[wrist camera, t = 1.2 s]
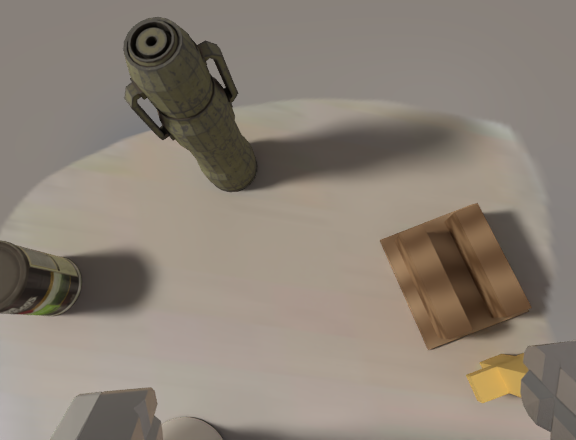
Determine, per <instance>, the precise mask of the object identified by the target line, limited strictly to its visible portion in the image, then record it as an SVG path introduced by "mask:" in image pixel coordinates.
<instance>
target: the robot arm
mask: <svg viewBox="0 0 576 440" xmlns="http://www.w3.org/2000/svg"><path fill="white" fill-rule="evenodd" d="M523 363H524V365H525V366H526V367H527V369H528V370H529V371H528V372H527V373H526V374H525V375H524V377H523V378H522V379H521V389H520V394H521V398H522V401H523V405H524V407H525V409H526V411H527V413H528V415H529V416H530V418H531V419H532V420H533V421H534V422H535V424H536V425H538V426H540V427H542V428H544V429H546V430H547V431H549V432H551V438H550V440H576V340H572V341H568V342H559V343H551V344H542V345H534V346H528V347H527V348H526V350H525V352H524V358H523ZM156 407H157V399H156V395H155V391H154V390H153V389H152V388H151V387H149V388H138V389H126V390H115V391H104V392H95V393H85V394H79V395H78V396H76V397H75V398H74V399H73V400H72V402H71V404H70V406H69V407H68V409H67V411H66V413H65V414H64V416H63V418H62V419H61V421H60V423H59V425H58V426H57V428H56V430H55V431H54V433H53V435H52V437H51V438H50V440H223V439H222V437H221V436H220V434H219V433H218V432H217V431H216V430H215V429H214V428H213V427H212V426H210V425H209V424H207V423H206V422H204V421H202V420H199V419H196V418H191V417H180V418H175V419H172V420H169V421H167V422H165V423H163V424H162V425H161V421H160V420H159V419H158V418H157V417H155V416H154V414H155V411H156Z"/></svg>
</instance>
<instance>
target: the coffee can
mask: <svg viewBox="0 0 576 440" xmlns="http://www.w3.org/2000/svg"><path fill="white" fill-rule="evenodd" d="M81 283H82V281H81V274H80V271H79V269H78V268H77V266H76V265H75V264H74V263H73V262H72V261H71V260H69V259H67V258H64V257H58V256H55V255H51V254H47V253H43V252H40V251H36V250H32V249H28V248H25V247H21V246H17V245H14V244H12V243H9V242H6V241H0V314H23V315H43V316H55V315H59V314H61V313H63V312H65V311H66V310H68V309H69V308H70V307H71V306H72V305H73V304H74V303H75V301H76V300H77V298H78V296H79V293H80V290H81Z"/></svg>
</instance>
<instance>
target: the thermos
mask: <svg viewBox="0 0 576 440" xmlns="http://www.w3.org/2000/svg"><path fill="white" fill-rule="evenodd" d="M124 55H125V59H126V63H127V67H128V70H129V73H130V76H131V78H130V80H131V81H132V83H130V84H129V85H128V86H126V91H125V97H124V98H125V100H126V101H127V103H128V104H129V105H130V107H131V108H132V109H133V110H134V111H135V112H136V114H137V115H138V116H139V117H140V118H141V119H142V120H143V121H144V122H145V123H146V124H147V125H148V126H149V128H150V129H151V130H152V131H153V132H154V133H155V134H156V135H157V136H158V137H159V138H161V139H162V140H164V139H166V138H167V137H168V136H170V138H171V139H172V140H175V139H176V141H177V142H178V143H179V144H180V145H181V146H183V147H184V148H186V149H187V150H189V151H190V152H191V153H192V154H193V156H194V157H195V158H196V159H197V161H198V164H199V166H200V168H201V170H202V172H203V173H204V174H205V175H206V177H207V178H208V179H209V180H210V181H211V182H212V183H213V184H214V185H215V186H216V187H218V188H219V189H221V190H223V191H227V192H237V191H240V190H242V189H245V188H246V187H247V186H248V185H250V184H251V182H252V181H253V180H254V178H255V176H256V172H257V162H256V159H255V156H254V153H253V150H252V148H251V146H250V144H249V142H248V141H247V140H246V139H245V138H244V137H243V136H242V135H241V133H240V131H239V129H238V127H237V125H236V123H235V115H234V112H233V109H232V107H233V106H232V102H233V101H234V99H235V98H236V96H237V94H238V91H237V89H236V87H235V85H234V82H233V80H232V78H231V75H230V72H229V70H228V68H227V65H226V63H225V60H224V58H223V55H222V52H221V50H220V48H219V47H218V46H217V44H214V43H211V42H208V41H204V42H202V43H200V44H198V45H196V43H195V42H194V41H193V40H192V39H191V38H190V36H189V34H188V33H186V32H185V31H184V30H183V29H182V28H180V27H179V26H178V25H176V24H175V23H174V22H172V21H170V20H169V19H166V18H161V17H154V18H148V19H146V20H143V21H141V22H139V23H138V24H136V25H135V26H134V27H133V28H132V29H131V30H130V31H129V33H128V34H127V36H126V39H125V41H124ZM209 58H211V59H213V60H214V62H215V64H216V66H217V69H218V71H219V73H220V75H221V77H222V80H223V82H224V84H225V86H226V88H223V87H222V86H221V84H220V83H219V82H218V81H217V80H216V79H215V78H214V77H212V76H211V74H210V73H209V70H208V68H207V63H206V61H207V60H208V59H209ZM140 97H142V98H143V99H146V98H148V99H149V100H150V101H151V103H152V104H153V105H154V106H155V107H156V109H157V112H158V115H159V118H160V121H161V123H162V126H161V127H160V128H159V127H158V126H157V125H156V124H155V123H154V121H153V120H152V119H151V118H150V117H149V116H148V115H147V114H146V112H145V111H144V110H143V109H142V108H141V107H140V106H139V104H138V103H137V99H139V98H140Z"/></svg>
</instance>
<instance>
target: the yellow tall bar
mask: <svg viewBox="0 0 576 440" xmlns="http://www.w3.org/2000/svg"><path fill="white" fill-rule="evenodd" d="M523 358H524V353H522V354H520V355H517V356H511V355H505V354H500V355H498V356H495V357H492V358H490V359H487V360H485V361H482V362H480V364H481V367H482V369H480V370H478V371H475V372H473V373H470V374H467V375H466V377H467V379H468V381H469V383H470V385H471V387H472V390H473V392H474V394H475V396H476V398H477V401H479V402H481V403H485V402H487V401H490V400H493V399H495V398H498V397H500V396H503V395H506V394H508V393H510V394H513V395H516V396H518V397H521V394H520V389H521V379H522V378H523V377H524V375H525V374H526V373H527V372H528V371H529V370H528V369H527V367H526V366H525V365H524V363H523Z"/></svg>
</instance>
